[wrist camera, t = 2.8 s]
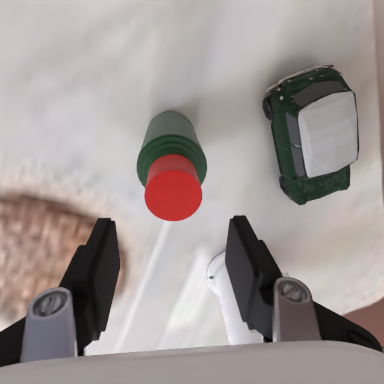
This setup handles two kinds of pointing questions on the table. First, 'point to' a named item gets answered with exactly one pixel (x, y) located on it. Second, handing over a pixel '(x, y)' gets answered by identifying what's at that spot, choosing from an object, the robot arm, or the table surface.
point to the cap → (173, 188)
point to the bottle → (170, 144)
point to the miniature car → (313, 132)
